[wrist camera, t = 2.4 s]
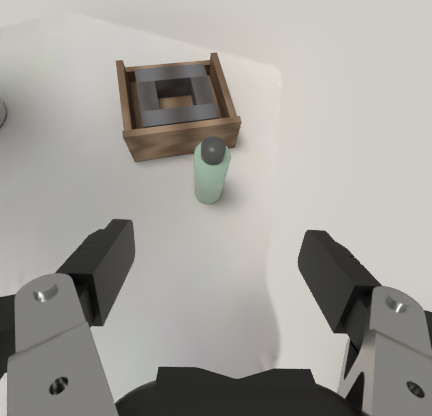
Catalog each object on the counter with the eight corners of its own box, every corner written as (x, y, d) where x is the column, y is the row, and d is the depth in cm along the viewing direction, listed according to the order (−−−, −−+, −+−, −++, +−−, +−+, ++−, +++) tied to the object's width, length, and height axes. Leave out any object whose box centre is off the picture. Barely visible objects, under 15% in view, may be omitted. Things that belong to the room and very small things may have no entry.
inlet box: (134, 161, 35) (123, 137, 29) (124, 83, 40) (113, 49, 34) (234, 147, 37) (241, 121, 32) (213, 75, 42) (215, 42, 36)
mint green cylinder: (197, 206, 33) (198, 166, 22) (192, 182, 34) (190, 133, 24) (223, 201, 34) (237, 160, 23) (217, 177, 35) (227, 128, 24)
